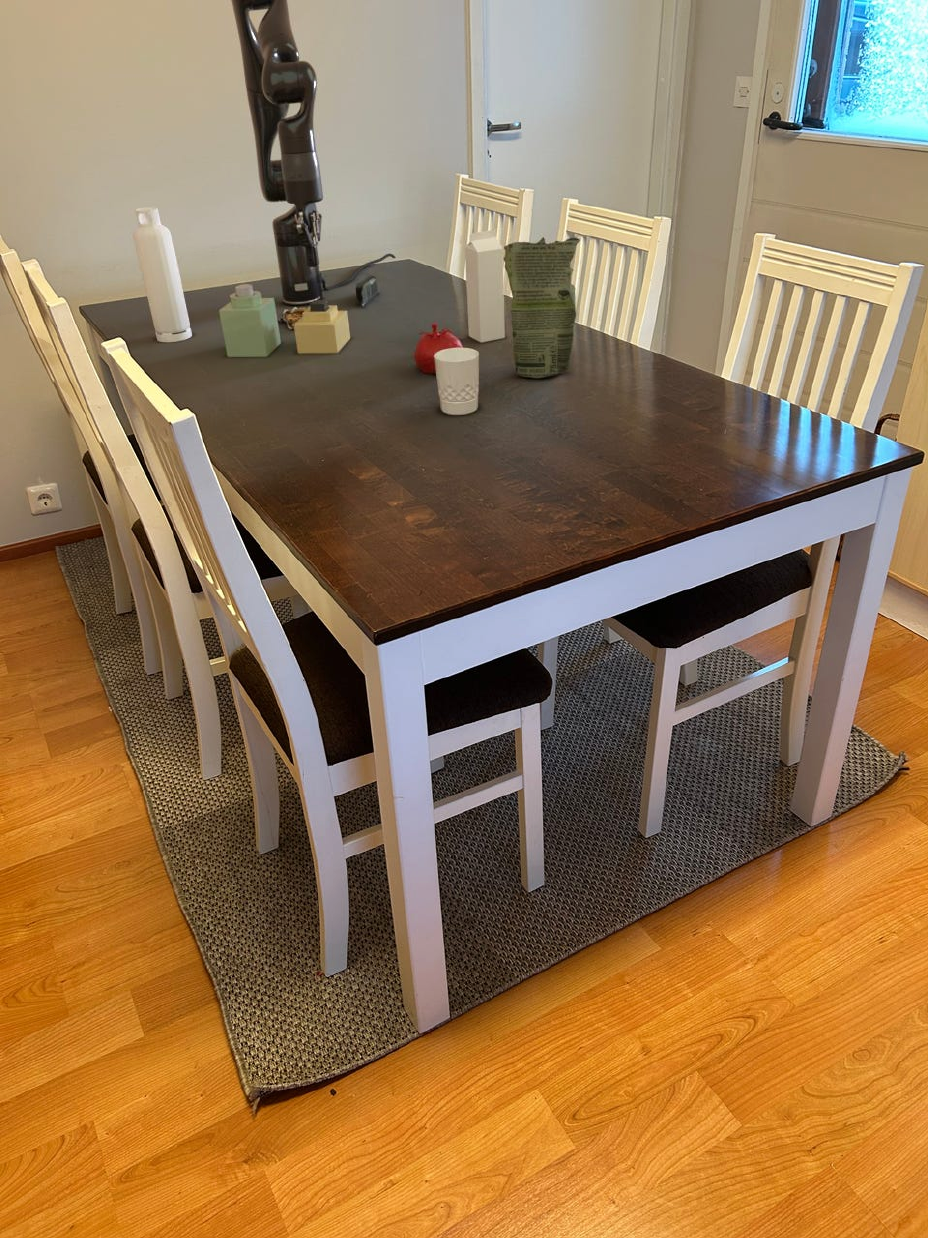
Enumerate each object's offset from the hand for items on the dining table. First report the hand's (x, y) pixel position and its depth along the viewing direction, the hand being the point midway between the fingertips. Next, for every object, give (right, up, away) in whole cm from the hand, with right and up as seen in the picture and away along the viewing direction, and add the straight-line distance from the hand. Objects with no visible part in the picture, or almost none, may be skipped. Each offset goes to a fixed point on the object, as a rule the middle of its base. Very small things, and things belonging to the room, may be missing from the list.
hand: (313, 265), depth 198 cm
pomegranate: (+27, -24, -9) cm, 37 cm away
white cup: (+31, -37, -28) cm, 56 cm away
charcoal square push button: (+1, -8, +5) cm, 10 cm away
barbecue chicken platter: (-7, -5, +25) cm, 27 cm away
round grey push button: (-15, -5, +3) cm, 16 cm away
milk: (+37, -13, +9) cm, 40 cm away
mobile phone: (+7, +7, +41) cm, 42 cm away
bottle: (-36, -9, +21) cm, 43 cm away
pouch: (+48, -26, -13) cm, 56 cm away
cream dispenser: (+1, -14, +9) cm, 17 cm away
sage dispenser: (-15, -15, +9) cm, 23 cm away
